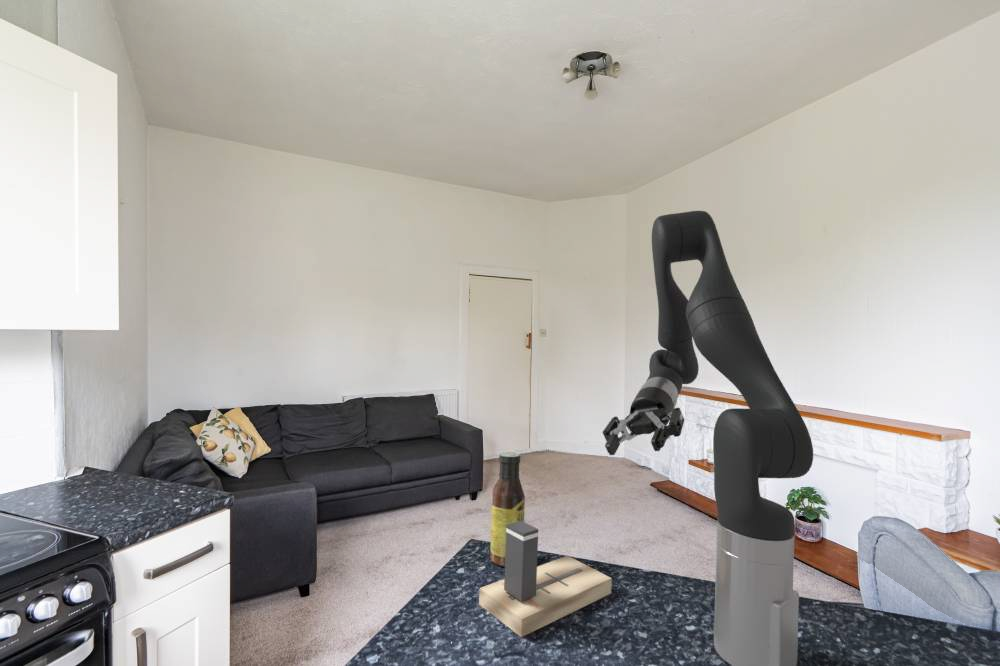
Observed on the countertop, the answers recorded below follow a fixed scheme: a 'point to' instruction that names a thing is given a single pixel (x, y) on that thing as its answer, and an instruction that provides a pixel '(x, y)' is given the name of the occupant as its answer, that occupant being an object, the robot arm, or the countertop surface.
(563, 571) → the fader console
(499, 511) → the sauce bottle
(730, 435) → the robot arm
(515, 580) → the fader cap
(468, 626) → the countertop surface
